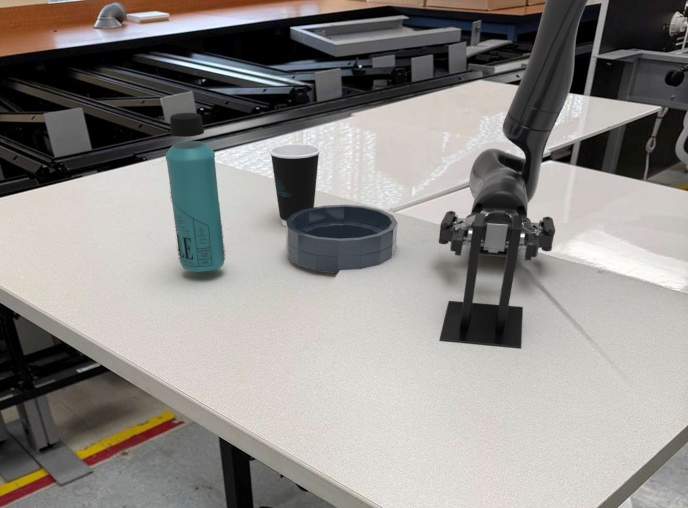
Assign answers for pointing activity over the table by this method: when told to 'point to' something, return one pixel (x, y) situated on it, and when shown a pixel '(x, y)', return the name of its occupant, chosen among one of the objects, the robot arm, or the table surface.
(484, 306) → the bracket
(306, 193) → the dixie cup
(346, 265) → the grey shallow bowl
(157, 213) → the table surface
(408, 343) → the table surface
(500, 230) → the tap lever
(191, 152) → the beverage bottle
